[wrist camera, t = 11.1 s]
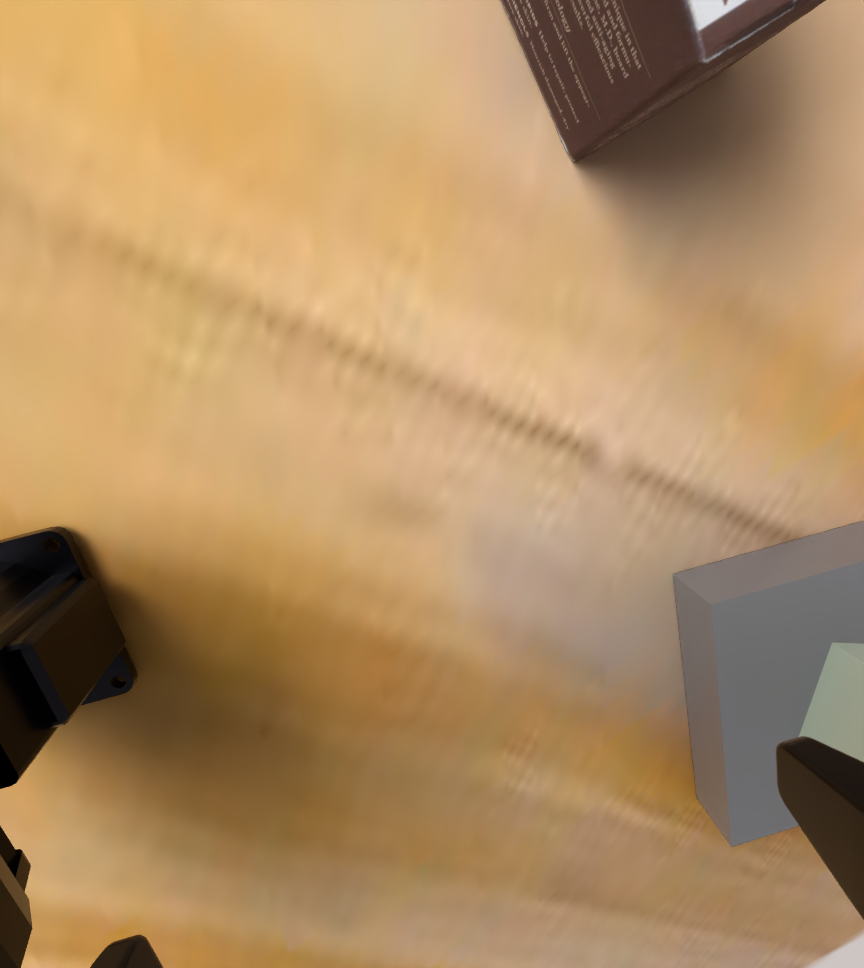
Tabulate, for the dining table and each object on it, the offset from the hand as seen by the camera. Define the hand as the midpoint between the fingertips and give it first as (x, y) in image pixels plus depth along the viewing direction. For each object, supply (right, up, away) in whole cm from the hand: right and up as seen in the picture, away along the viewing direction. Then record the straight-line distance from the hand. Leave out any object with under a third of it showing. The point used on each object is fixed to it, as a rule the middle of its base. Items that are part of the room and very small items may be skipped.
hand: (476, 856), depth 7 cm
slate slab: (+16, -3, +17) cm, 23 cm away
